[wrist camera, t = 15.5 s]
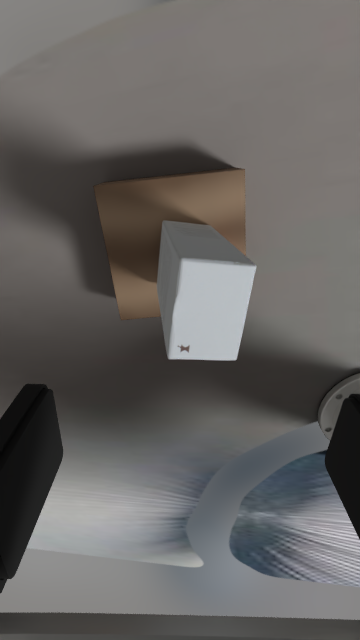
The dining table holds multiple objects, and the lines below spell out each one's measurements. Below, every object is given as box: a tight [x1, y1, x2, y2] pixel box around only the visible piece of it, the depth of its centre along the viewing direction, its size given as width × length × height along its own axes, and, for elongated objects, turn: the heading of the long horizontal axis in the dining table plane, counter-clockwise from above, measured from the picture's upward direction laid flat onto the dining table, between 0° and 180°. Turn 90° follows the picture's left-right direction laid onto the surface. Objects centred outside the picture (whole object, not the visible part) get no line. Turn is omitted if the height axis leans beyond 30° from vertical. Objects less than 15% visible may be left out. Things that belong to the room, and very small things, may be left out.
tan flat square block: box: [93, 168, 246, 320], centre depth 30 cm, size 12×12×5 cm
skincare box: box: [157, 220, 256, 360], centre depth 23 cm, size 6×4×12 cm
